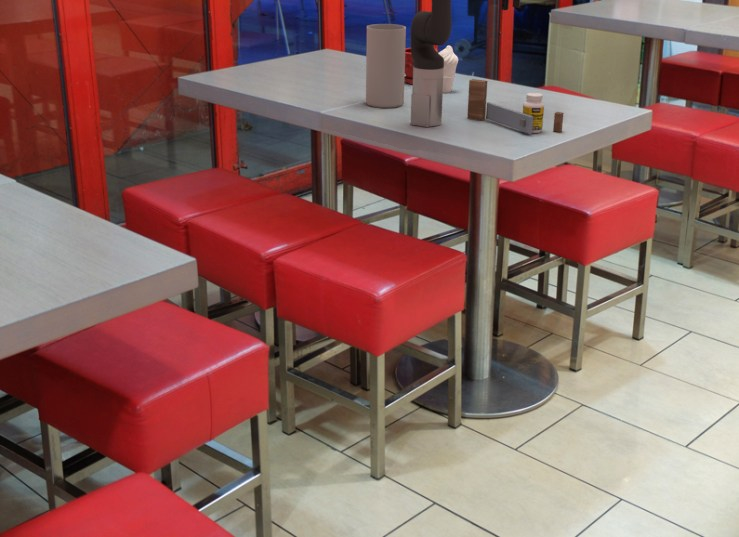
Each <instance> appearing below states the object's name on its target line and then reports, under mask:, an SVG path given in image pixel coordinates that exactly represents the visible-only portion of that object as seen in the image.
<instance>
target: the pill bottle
mask: <svg viewBox="0 0 739 537" xmlns="http://www.w3.org/2000/svg"><path fill="white" fill-rule="evenodd" d="M525 99H526V100H525V101H524V102H523V104H522V113H524V114H527V115H530V116H533V129H532V133H531V134H538V133H539V134H540V133H542V132H543V123H544V115H545V113H544V112H545V104H544V102H543V101H542V100H543V94H542V93H538V92H528V93H526V97H525Z"/></svg>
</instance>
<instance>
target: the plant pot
mask: <svg viewBox="0 0 739 537" xmlns="http://www.w3.org/2000/svg"><path fill="white" fill-rule="evenodd" d="M435 50H436V52H437V53H439V51H438V49H437V48H435ZM404 82H406V83H407V84H410V85H413V60H412V56H411V47H408V48H407V47H405V77H404Z"/></svg>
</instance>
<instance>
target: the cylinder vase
mask: <svg viewBox="0 0 739 537" xmlns="http://www.w3.org/2000/svg"><path fill="white" fill-rule="evenodd" d="M406 29H407V27H406V26H404V25H401V24H393V23H377V24H369V25H366V56H365V57H366V58H365V59H366V62H365V63H366V65H365V68H366V70H365V72H366V73H365V74H366V75H365V103H366V104H367V105H368V106H369V107H373V108H381V109H393V108H399V107H401V106H403V105H404V103H405V80H404V77H405V76H406V75H405V49H406V36H407V35H406V34H407V31H406Z"/></svg>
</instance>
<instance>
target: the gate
mask: <svg viewBox="0 0 739 537" xmlns="http://www.w3.org/2000/svg"><path fill="white" fill-rule="evenodd" d="M485 120H488V121H491V122H494V123H497V124H500V125H503V126H506V127H508V128H511V129H514V130H517V131H519V132H523V133H525V134H528V135H531V134H533V133H532V129H533V116H530V115H527V114H524V113H523V112H520V111H517V110H515V109H511V108H508V107H505V106H502V105H499V104H495V103H492V102H487V101H486V114H485Z"/></svg>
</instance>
